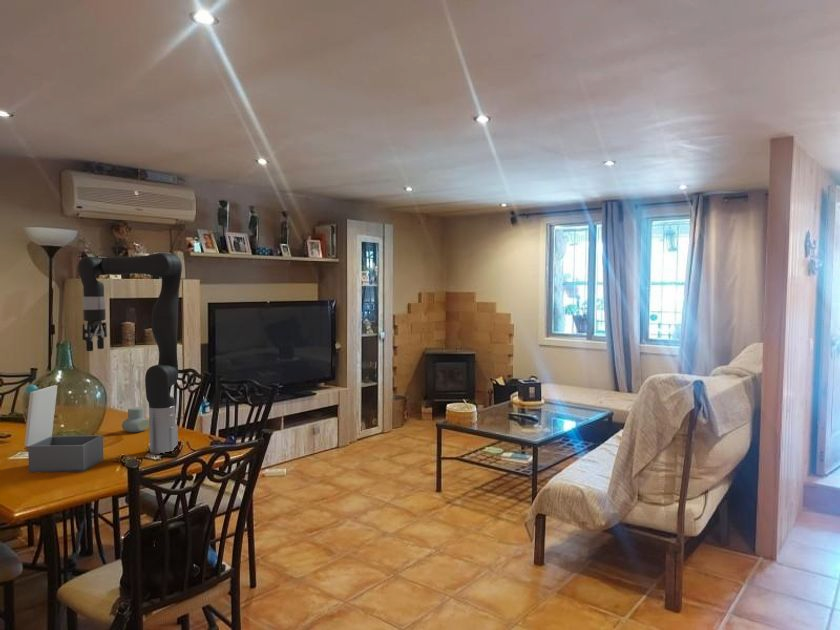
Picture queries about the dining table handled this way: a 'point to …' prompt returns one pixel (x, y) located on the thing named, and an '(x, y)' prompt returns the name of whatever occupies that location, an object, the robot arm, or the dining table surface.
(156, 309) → the robot arm
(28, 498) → the dining table surface
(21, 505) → the dining table surface
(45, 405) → the tub lid
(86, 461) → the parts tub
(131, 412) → the air freshener
